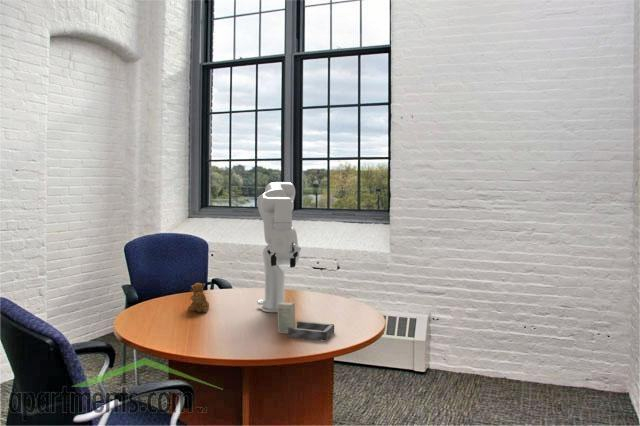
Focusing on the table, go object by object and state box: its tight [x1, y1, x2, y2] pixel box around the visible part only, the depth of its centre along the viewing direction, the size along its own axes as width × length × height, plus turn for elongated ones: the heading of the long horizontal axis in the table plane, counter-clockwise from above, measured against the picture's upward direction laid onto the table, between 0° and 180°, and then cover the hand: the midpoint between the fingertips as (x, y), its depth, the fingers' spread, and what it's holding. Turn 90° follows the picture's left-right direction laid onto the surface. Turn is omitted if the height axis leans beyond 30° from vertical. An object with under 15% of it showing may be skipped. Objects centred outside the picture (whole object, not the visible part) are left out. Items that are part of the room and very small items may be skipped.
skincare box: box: [277, 301, 296, 335], centre depth 216 cm, size 6×4×12 cm
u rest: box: [287, 320, 335, 342], centre depth 213 cm, size 16×12×4 cm
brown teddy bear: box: [187, 282, 210, 313], centre depth 250 cm, size 10×14×13 cm
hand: (283, 266), depth 223 cm, fingers open, 9 cm apart
